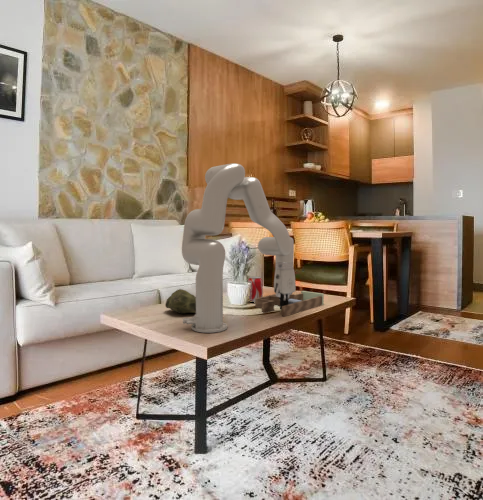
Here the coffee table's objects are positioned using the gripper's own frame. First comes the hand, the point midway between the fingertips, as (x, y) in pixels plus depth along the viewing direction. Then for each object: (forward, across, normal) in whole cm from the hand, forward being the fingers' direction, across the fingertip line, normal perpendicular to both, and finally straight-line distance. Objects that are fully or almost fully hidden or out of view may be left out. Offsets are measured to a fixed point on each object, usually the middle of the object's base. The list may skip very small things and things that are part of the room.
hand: (284, 309), depth 168 cm
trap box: (+1, +7, +4) cm, 8 cm away
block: (+1, +5, -1) cm, 5 cm away
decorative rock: (+1, -29, +30) cm, 42 cm away
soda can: (+1, +7, +21) cm, 22 cm away
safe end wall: (+1, +23, 0) cm, 23 cm away
